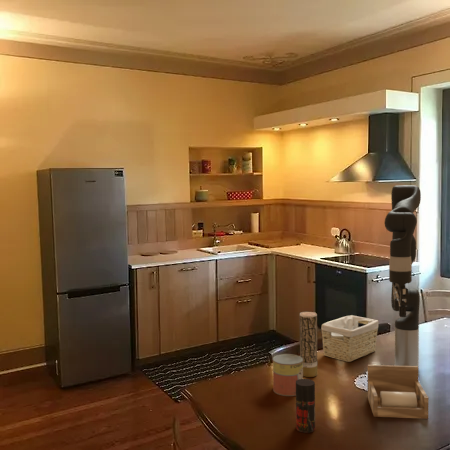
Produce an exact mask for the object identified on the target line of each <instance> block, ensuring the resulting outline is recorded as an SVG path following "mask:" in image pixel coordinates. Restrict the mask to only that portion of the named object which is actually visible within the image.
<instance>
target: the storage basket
mask: <svg viewBox="0 0 450 450" xmlns="http://www.w3.org/2000/svg"><path fill="white" fill-rule="evenodd" d="M359 324H363V325H362V326H359ZM320 330H321V334H322V335H321V337H322V350H323V353H322V354H323V356H324V357H325V356H326V357H329V358H332V359H335V360H339V361H342V362H348V363H351V362H353V361H355V360H357V359H360V358H362V357H365V356H368V355H369V354H371V353H374V352H375V351H376V345H377V338H378V330H379V320H378V319H373V318H368V317H362V316H357V315H353V314H351V315H346V316H342V317H339V318H336V319H333V320H330V321H327V322H324V323H322V324H321V329H320Z"/></svg>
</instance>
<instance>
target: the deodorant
mask: <svg viewBox="0 0 450 450" xmlns="http://www.w3.org/2000/svg"><path fill="white" fill-rule="evenodd" d="M295 426H296V427H295V429H296V430H297V431H298V432H300V433H303V434H304V433H305V434H309V433H313V432H314V431H316V382H315V381H314V380H313V379H309V378H303V379H299V380H297V381H296V396H295Z"/></svg>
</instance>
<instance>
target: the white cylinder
mask: <svg viewBox="0 0 450 450" xmlns="http://www.w3.org/2000/svg"><path fill="white" fill-rule="evenodd" d="M380 405H381V407H409V408H417V398H416V394H415V392H389V391H380Z"/></svg>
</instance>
